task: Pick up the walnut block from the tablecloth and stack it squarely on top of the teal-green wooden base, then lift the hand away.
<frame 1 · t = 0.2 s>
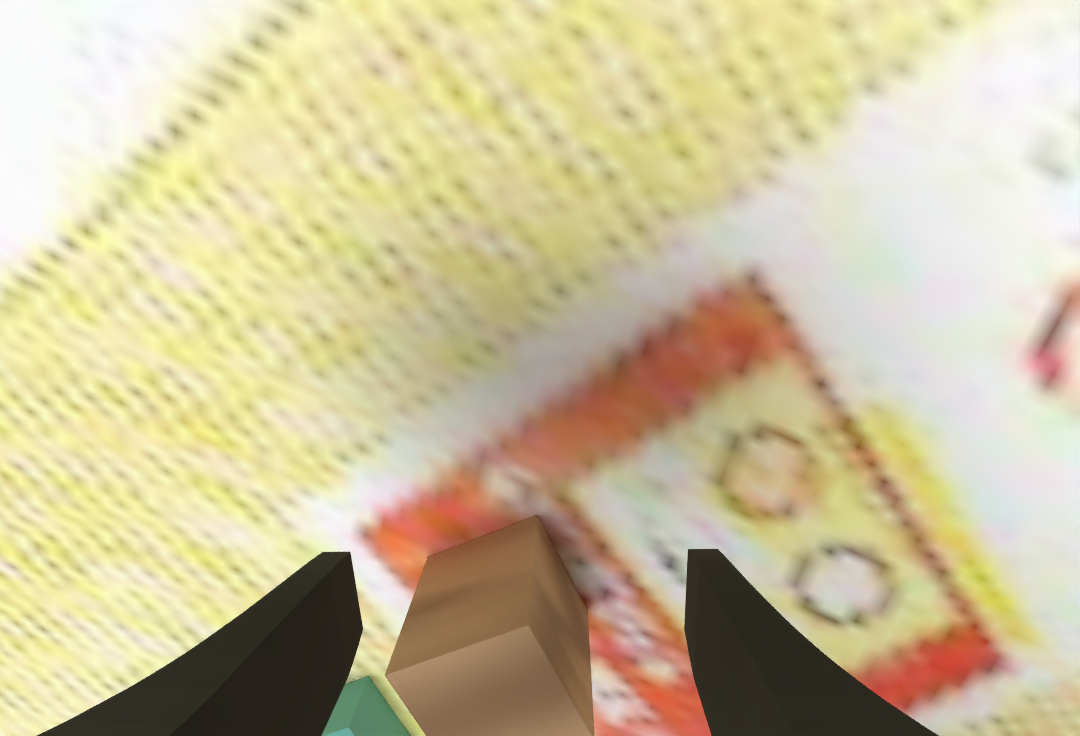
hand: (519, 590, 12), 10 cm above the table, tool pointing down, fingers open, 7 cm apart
walnut block: (508, 582, 24), on the table
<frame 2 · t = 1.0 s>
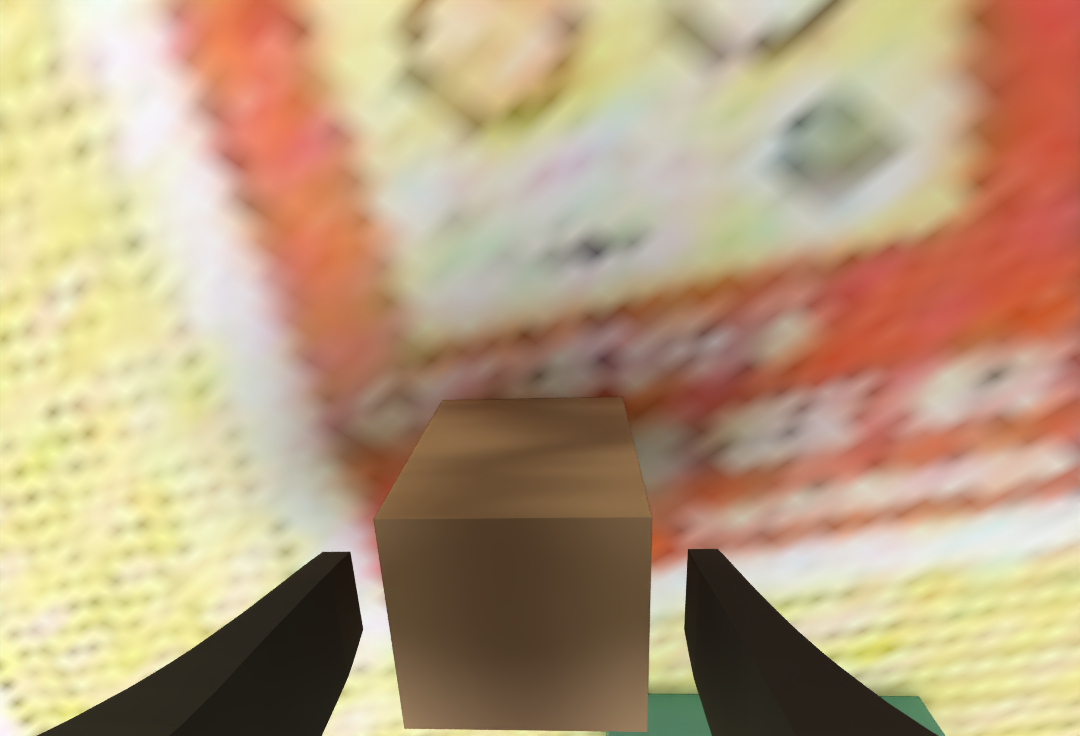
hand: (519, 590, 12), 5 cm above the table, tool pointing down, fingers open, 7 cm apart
walnut block: (535, 478, 17), on the table
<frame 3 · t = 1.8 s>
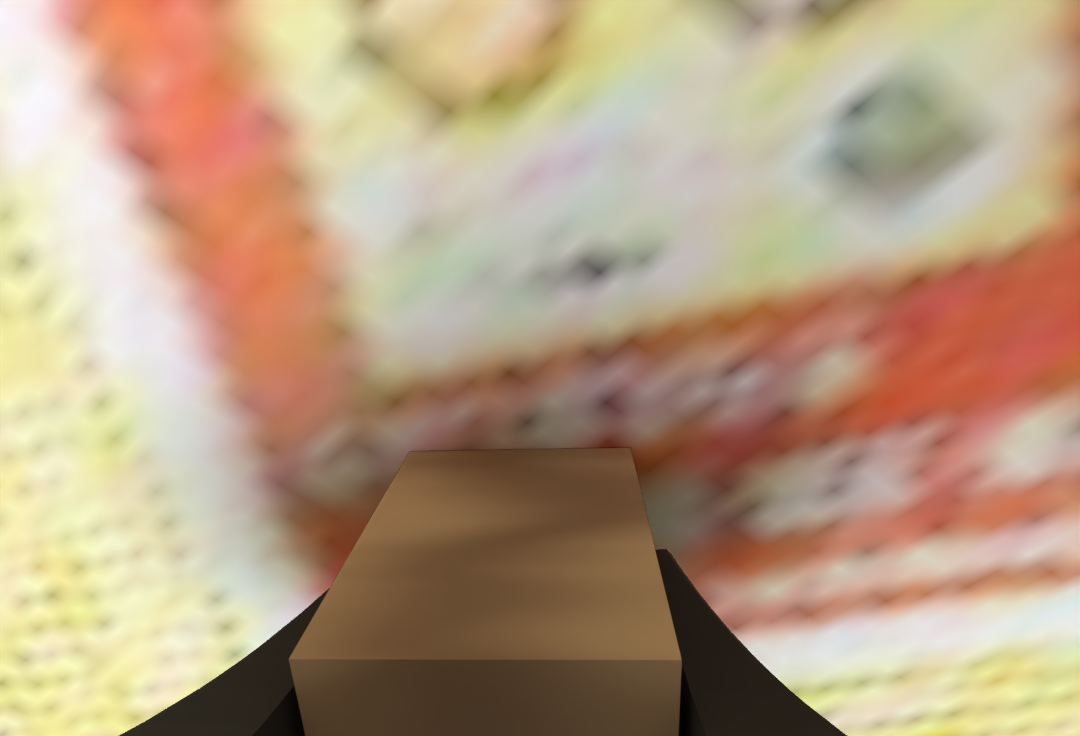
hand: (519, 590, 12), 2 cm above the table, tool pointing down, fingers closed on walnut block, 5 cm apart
walnut block: (524, 544, 14), on the table, touching gripper
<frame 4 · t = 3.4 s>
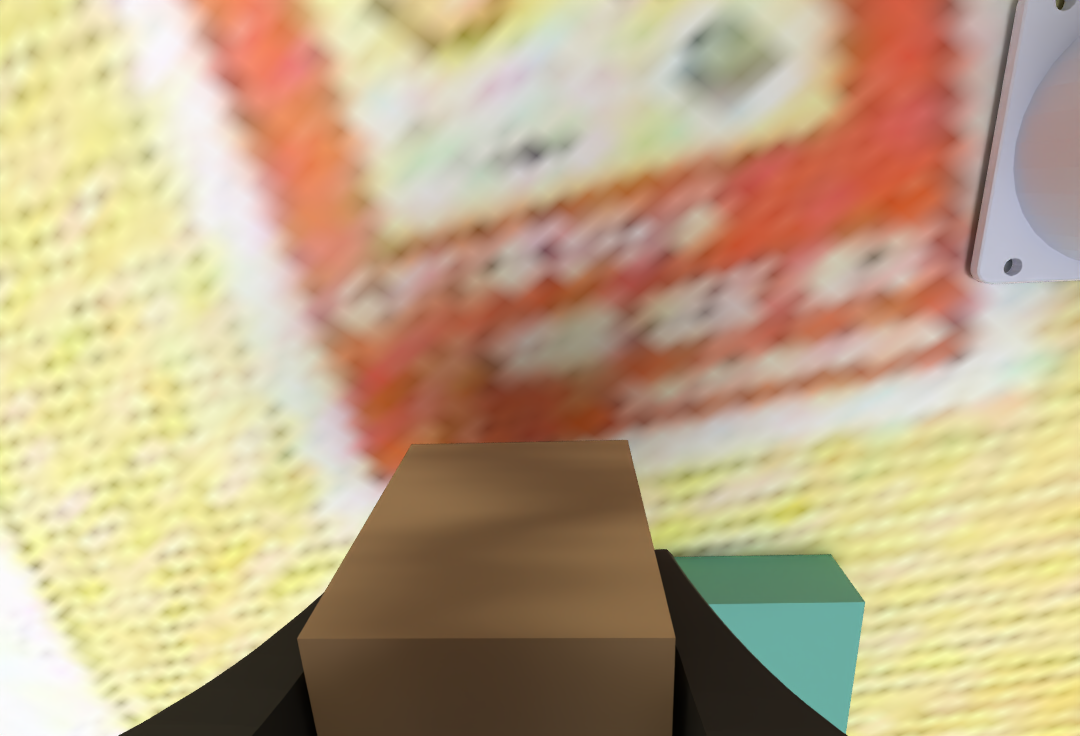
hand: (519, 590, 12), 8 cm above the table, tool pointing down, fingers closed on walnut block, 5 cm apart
walnut block: (523, 535, 14), point 6 cm above the table, touching gripper
teal base: (687, 654, 23), on the table
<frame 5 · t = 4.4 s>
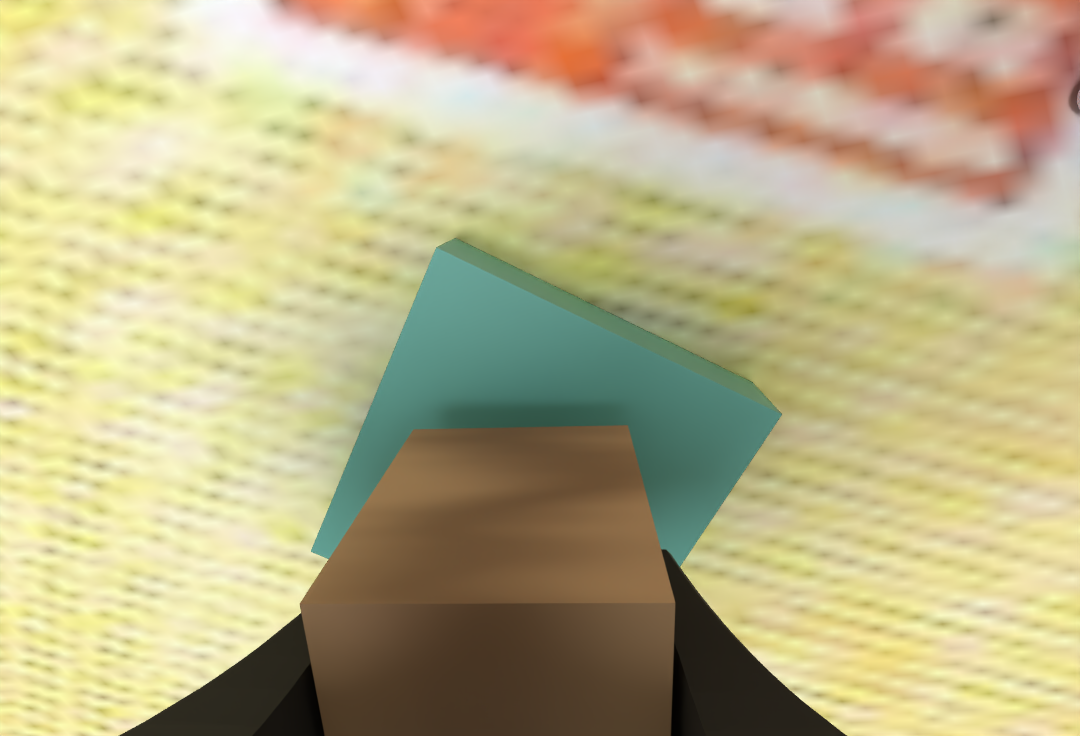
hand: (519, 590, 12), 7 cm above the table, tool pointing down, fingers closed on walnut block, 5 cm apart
walnut block: (524, 522, 14), point 5 cm above the table, touching gripper
teal base: (537, 441, 19), on the table
when the fingers open (6 cm above the table, at t = 5.1 s): walnut block drops 1 cm, point 2 cm above the table.
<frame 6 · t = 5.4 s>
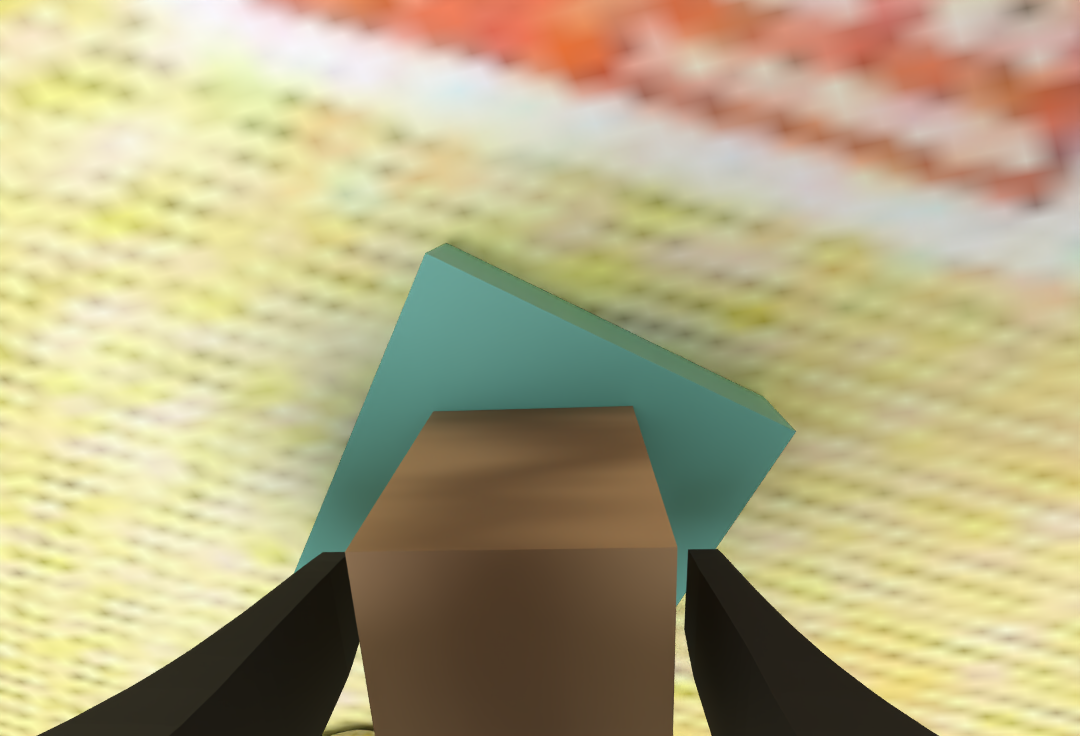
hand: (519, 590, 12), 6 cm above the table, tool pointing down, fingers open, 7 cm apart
walnut block: (536, 498, 15), point 2 cm above the table
teal base: (534, 457, 18), on the table
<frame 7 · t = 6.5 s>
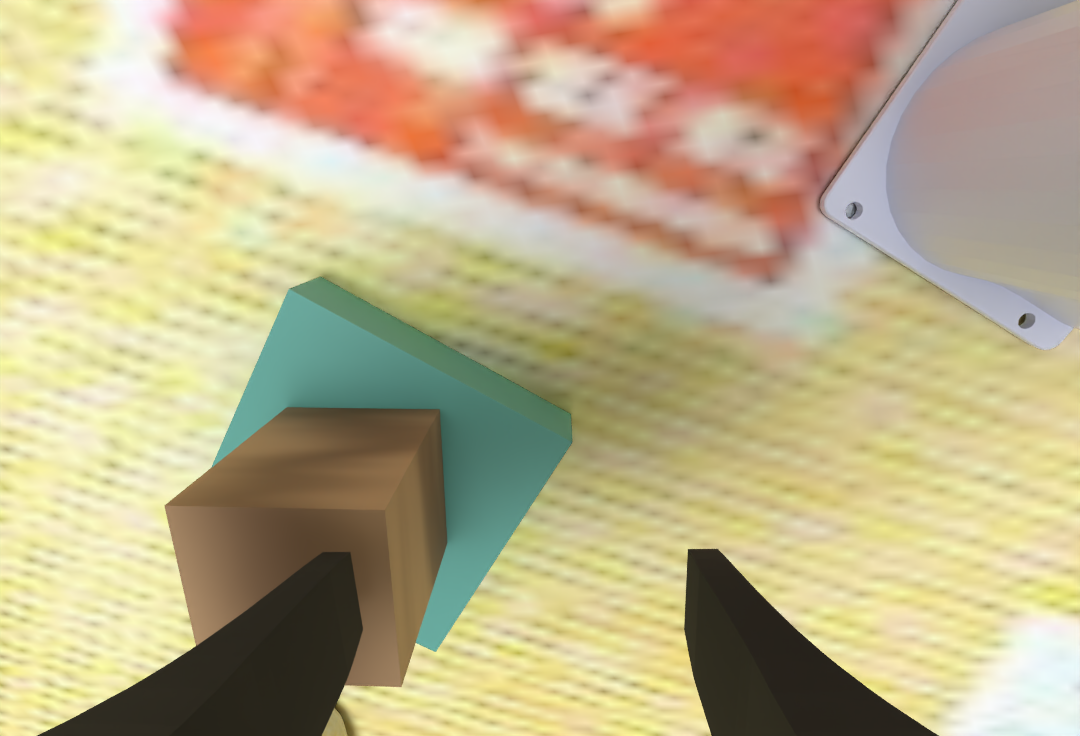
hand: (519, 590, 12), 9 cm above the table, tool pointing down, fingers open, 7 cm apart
walnut block: (369, 477, 19), point 2 cm above the table
bread roll: (264, 734, 27), on the table
teal base: (394, 450, 22), on the table
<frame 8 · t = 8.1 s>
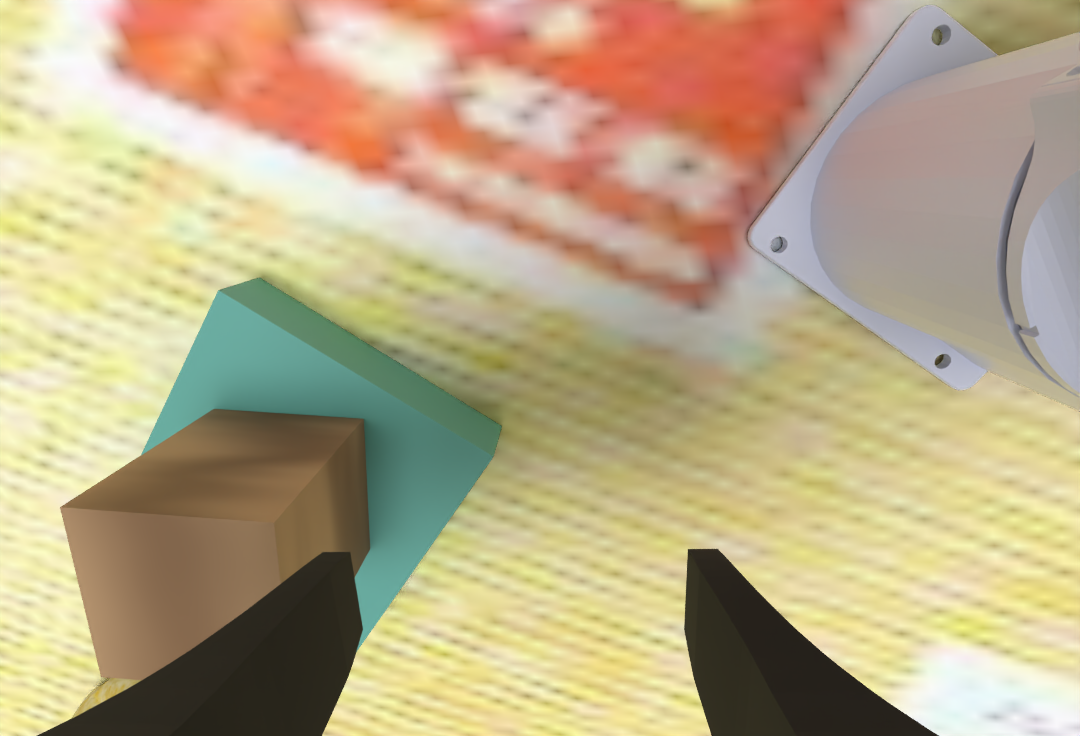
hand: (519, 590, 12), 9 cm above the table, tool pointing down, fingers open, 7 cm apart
walnut block: (294, 481, 20), point 2 cm above the table
bread roll: (192, 720, 27), on the table
teal base: (328, 451, 23), on the table
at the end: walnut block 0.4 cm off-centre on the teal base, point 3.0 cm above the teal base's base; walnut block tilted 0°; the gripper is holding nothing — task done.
